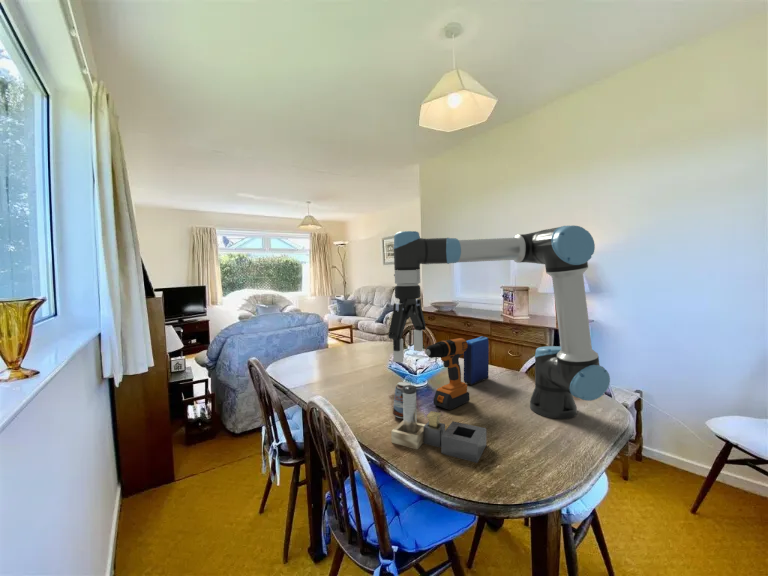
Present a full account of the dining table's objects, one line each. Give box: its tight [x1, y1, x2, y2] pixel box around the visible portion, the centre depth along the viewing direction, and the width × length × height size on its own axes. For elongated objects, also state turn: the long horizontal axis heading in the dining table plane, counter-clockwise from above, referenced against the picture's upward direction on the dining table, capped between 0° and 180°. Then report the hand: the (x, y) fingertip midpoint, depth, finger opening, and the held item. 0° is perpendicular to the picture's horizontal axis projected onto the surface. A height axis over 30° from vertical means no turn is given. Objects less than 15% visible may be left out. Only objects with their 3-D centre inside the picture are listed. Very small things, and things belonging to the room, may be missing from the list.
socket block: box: [423, 420, 487, 464], centre depth 99 cm, size 16×10×6 cm, turn 60°
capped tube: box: [402, 384, 418, 435], centre depth 103 cm, size 4×4×16 cm
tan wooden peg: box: [426, 410, 442, 429], centre depth 101 cm, size 3×3×8 cm
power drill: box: [424, 337, 471, 411], centre depth 129 cm, size 22×7×25 cm, turn 129°
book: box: [463, 335, 490, 386], centre depth 155 cm, size 14×5×20 cm, turn 130°
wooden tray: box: [390, 420, 426, 450], centre depth 103 cm, size 8×8×4 cm
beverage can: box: [392, 381, 412, 419], centre depth 121 cm, size 6×7×12 cm
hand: (409, 356), depth 102 cm, fingers open, 13 cm apart
